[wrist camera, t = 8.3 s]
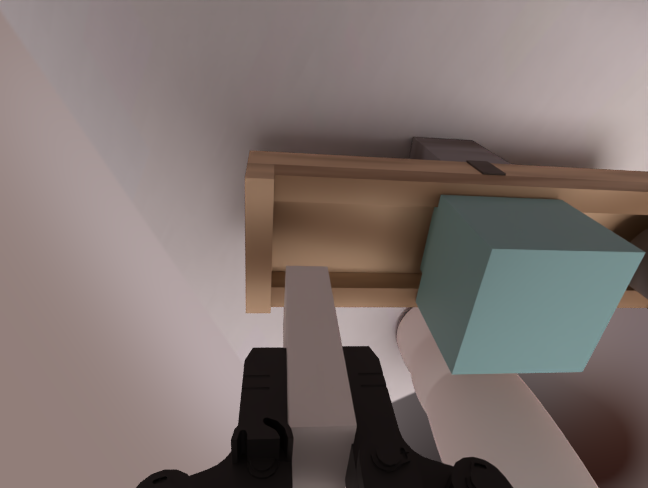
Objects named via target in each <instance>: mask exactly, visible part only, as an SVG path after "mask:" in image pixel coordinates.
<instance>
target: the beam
mask: <svg viewBox="0 0 648 488" xmlns="http://www.w3.org/2000/svg"><path fill="white" fill-rule="evenodd" d="M441 195H460V196H484V197H508V198H532V199H557V200H563V201H565V202H566V203H568V204H569V205H571V206H572V207H574V208H576V209H577V210H579V211H580V212H582V213H584V214H585V215H587V216H588V217H590V218H592V219H593V220H595V221H596V222H598V223H600V224H601V225H603V226H604V227H606V228H607V229H609V230H611V231H612V232H614V233H615V234H617V235H619V236H620V237H622V238H623V239H625V240H627V241H628V242H630V243H631V244H633V245H635V246H636V247H638V248H639V249H641V250H643V251H644V252H646V253H645V255H644V257H643V258H642V260H641V262H640V264H639V266H638V268H637V270H636V272H635V274H634V275H633V277H632V279H631V281H630V283H629V285H628V287H627V289H626V291H625V292H624V294H623V296H622V298H621V300H620V302H619V304H618V306H617V308H647V309H648V172H645V171H626V170H607V169H589V168H570V167H551V166H532V165H513V164H510V163H508V162H507V161H505V160H503V159H502V158H500V157H498V156H497V155H495V154H493V153H492V152H490V151H489V150H487V149H485V148H484V147H482V146H480V145H479V144H477V143H476V142H474V141H472V140H456V139H439V138H423V137H413V141H412V146H411V151H410V156H409V159H400V158H381V157H363V156H344V155H325V154H306V153H287V152H268V151H250V152H249V158H248V163H247V169H246V174H245V264H246V313H270V310H271V307H284V297H285V276H286V266H326V267H328V272H329V278H330V283H331V289H332V294H333V299H334V305H335V307H418V306H417V304H416V298H417V293H418V289H419V285H420V281H421V276H422V272H421V270H420V266H421V262H422V257H423V253H424V249H425V244H426V240H427V236H428V231H429V227H430V223H431V218H432V214H433V210H434V207H438V204H439V200H440V196H441Z"/></svg>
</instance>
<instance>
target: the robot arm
mask: <svg viewBox="0 0 648 488" xmlns="http://www.w3.org/2000/svg"><path fill="white" fill-rule="evenodd" d="M243 373H244V374H243V383H242V392H241V402H240V412H239V423H238V426H237V427H236V428H235V430H234V433H233V436H232V439H231V453H230V454H229V455H228V456H227V457H226V458H225V459H224V460H223V461H222V462H220V463H219V464H218V465H216V466H214V467H212V468H210V469H207V470H205V471H202V472H199V473H196V474H194V475H191V476H188V474H186V473H183V472H181V471H179V470H162V471H159V472H157V473H154V474H152V475H150V476H149V477H147V478H146V479H145V480H143V481H142V482H140V484H139V485H138V486H137V487H136V488H345V486H346V488H513V487H512V485H511V484H510V483H509V481H508V480H507V478H506V477H505V476H504V475H503V474H502V473H501V472H500V471H499V470H498V468H497V467H495V466H494V465H492V464H491V463H489V462H487V461H486V460H483V459H480V458H476V457H464V458H462V459H460V460H459V461H457V462H456V463H455V465H454V466H451V465H448V464H444V463H440V462H437V461H434V460H430V459H428V458H425V457H422V456H421V455H419V454H418V453H416V452H414V451H413V450H412V449H411V448H410V446H408V445H407V444H406V442H405V441H404V439H403V438H402V436H401V434H400V431H399V428H398V425H397V421H396V418H395V414H394V410H393V407H392V403H391V400H390V396H389V393H388V389H387V388H386V382H385V379H384V376H383V372H382V368H381V365H380V361H379V358H378V357H377V356H376V355H375V353H374V352H373V351H372V350H371V348H370V347H369V346H342V343H341V337H340V332H339V326H338V321H337V316H336V310H335V305H334V299H333V294H332V289H331V283H330V278H329V272H328V267H326V266H286V276H285V297H284V319H283V348H253V349H252V350H251V352H250V353H249V355H248V356H247V358H246V359H245V363H244V372H243Z"/></svg>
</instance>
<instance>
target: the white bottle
mask: <svg viewBox="0 0 648 488" xmlns="http://www.w3.org/2000/svg"><path fill="white" fill-rule="evenodd" d="M397 344H398V348H399V350H400V353H401V356H402V358H403V360H404V362H405V364H406V366H407V368H408V370H409V372H410V373H411V377H412V382H413V386H414V389H415V392H416V394H417V397H418V399H419V401H420V403H421V405H422V407H423V409H424V410H425V412H426V413H427V415H428V419H429V422H430V426H431V429H432V433H433V436H434V439H435V442H436V445H437V448H438V451H439V454H440V457H441V460H442V462H443V463H444V464H448V465H451V466H454V465H455V463H456V462H457V461H459V460H460V459H462V458H464V457H476V458H480V459H483V460H486V461H487V462H489V463H491V464H492V465H494V466H495V467H497V468H498V470H499V471H500V472H501V473H502V474H503V475H504V476H505V477H506V478H507V480H508V481H509V483H510V484H511V485H512V487H513V488H598V486H597V485H596V483H595V481H594V480H593V478H592V477H591V475H590V474H589V472H588V470H587V469H586V467H585V466H584V465H583V463H582V461H581V460H580V458H579V457H578V455H577V454H576V452H575V451H574V449H573V448H572V446H571V445H570V444H569V442H568V441H567V439H566V438H565V436H564V435H563V434H562V432H561V430H560V429H559V428H558V426H557V425H556V424H555V422H554V420H553V419H552V418H551V416H550V415H549V413H548V412H547V411H546V409H545V408H544V407H543V405H542V404H541V403H540V401H539V400H538V399H537V398H536V396H535V395H534V394H533V392H532V391H531V390H530V389H529V387H528V386H527V385H526V384H525V383H524V381H523V380H522V379H521V378H520V377H519V376H518V374H517V373H505V374H458V375H452V374H451V372H450V370H449V368H448V366H447V364H446V362H445V360H444V358H443V356H442V354H441V352H440V350H439V348H438V346H437V344H436V342H435V340H434V338H433V336H432V334H431V332H430V330H429V328H428V326H427V324H426V322H425V320H424V318H423V316H422V314H421V312H420V310H419V308H418V307H413V308H412V309H411V310H410V311H409V312H408V313H407V314H406V315H405V316H404V317H403V319H402V320H401V322H400V324H399V327H398V330H397Z"/></svg>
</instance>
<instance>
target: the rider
mask: <svg viewBox="0 0 648 488" xmlns="http://www.w3.org/2000/svg"><path fill="white" fill-rule="evenodd" d="M645 253H646V252H644V251H643V250H641V249H639V248H638V247H636V246H635V245H633V244H631V243H630V242H628V241H627V240H625V239H623V238H622V237H620V236H619V235H617V234H615V233H614V232H612V231H611V230H609V229H607V228H606V227H604V226H603V225H601V224H600V223H598V222H596V221H595V220H593V219H592V218H590V217H588V216H587V215H585V214H584V213H582V212H580V211H579V210H577V209H576V208H574V207H572V206H571V205H569V204H568V203H566V202H565V201H563V200H557V199H532V198H508V197H484V196H460V195H441V196H440V200H439V204H438V207H434V210H433V214H432V218H431V223H430V227H429V231H428V236H427V240H426V244H425V249H424V253H423V257H422V262H421V266H420V270H421V272H422V276H421V281H420V285H419V289H418V293H417V298H416V304H417V306H418V308H419V310H420V312H421V314H422V316H423V318H424V320H425V322H426V324H427V326H428V328H429V330H430V332H431V334H432V336H433V338H434V340H435V342H436V344H437V346H438V348H439V350H440V352H441V354H442V356H443V358H444V360H445V362H446V364H447V366H448V368H449V370H450V372H451V374H452V375H458V374H505V373H549V372H551V373H552V372H583V370H584V368H585V366H586V364H587V362H588V360H589V359H590V357H591V355H592V353H593V351H594V349H595V347H596V345H597V343H598V342H599V340H600V338H601V336H602V334H603V332H604V330H605V328H606V326H607V324H608V323H609V321H610V319H611V317H612V315H613V313H614V311H615V309H616V308H617V306H618V304H619V302H620V300H621V298H622V296H623V294H624V292H625V291H626V289H627V287H628V285H629V283H630V281H631V279H632V277H633V275H634V274H635V272H636V270H637V268H638V266H639V264H640V262H641V260H642V258H643V257H644V255H645Z"/></svg>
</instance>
